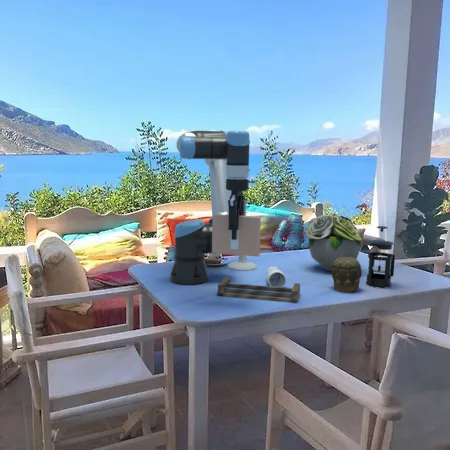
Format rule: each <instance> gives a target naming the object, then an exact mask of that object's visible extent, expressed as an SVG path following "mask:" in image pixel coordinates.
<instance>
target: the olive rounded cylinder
mask: <svg viewBox="0 0 450 450" xmlns="http://www.w3.org/2000/svg"><path fill="white" fill-rule="evenodd" d="M361 267H362V266H361V264H360V261H359V260H358V259H355V258H351V257H347V258H346V257H343V258H342V257H340V258H337V259H336V260H335V261H334V262H333V264H332V269H331V271H330V273H331V278H332V280H333V288H334V291H339V292H341V293H342V292H343V293H355V292H356V291H358V289H359V287H360V280H361V277H362V268H361Z"/></svg>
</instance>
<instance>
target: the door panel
mask: <svg viewBox="0 0 450 450" xmlns="http://www.w3.org/2000/svg"><path fill="white" fill-rule="evenodd" d="M211 216H212V217H211V218H212V253H211V254H221V255H223V254H224V255H233V256H239V255H244V256H246V257H256V258H257V257H259V256H260V255H261V225H262V224H261V223H262V216H258V215H257V216H256V215H246V216H241V215H239V223H238V230H239V249H230V240H231V230H228V228H229V215H223V214H214V215H212V214H211Z"/></svg>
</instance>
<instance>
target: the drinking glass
mask: <svg viewBox="0 0 450 450" xmlns="http://www.w3.org/2000/svg"><path fill="white" fill-rule="evenodd" d="M266 277H267V278H266V279H267V283H268V286H272V287H284V288H285V285H286V283H287V277H286V275H285V273H284V272H283V271H282V270H280V269H279V267H278V266H274V265H273V266H270V267H269V268H267V271H266Z"/></svg>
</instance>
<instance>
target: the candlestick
mask: <svg viewBox="0 0 450 450" xmlns="http://www.w3.org/2000/svg"><path fill="white" fill-rule="evenodd" d="M246 213H247V200H245V203H244V216H247V215H246ZM227 268H228V269H229V270H231V271H237V272H238V271H239V272H249V271H254V270H257V268H258V266H257V264H255V263H254V262H252V261H248V260H247V256H244V255H238V259H237V260H235V261H232V262H230V263H228V264H227Z"/></svg>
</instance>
